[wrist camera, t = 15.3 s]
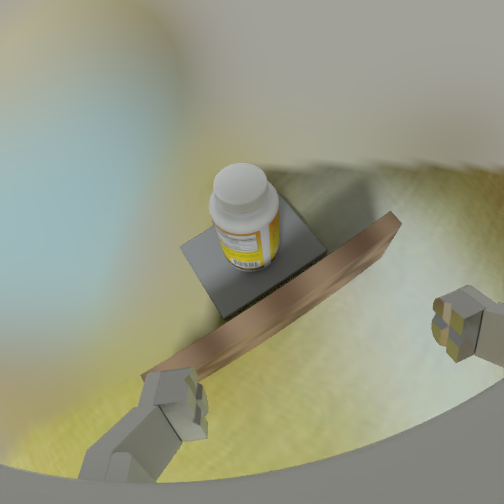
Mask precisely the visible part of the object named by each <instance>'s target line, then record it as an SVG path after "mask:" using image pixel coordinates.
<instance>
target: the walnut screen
mask: <svg viewBox="0 0 504 504" xmlns="http://www.w3.org/2000/svg"><path fill="white" fill-rule="evenodd" d="M401 225H402V223H401V222H400V221H399V220H398V218H397V217H396V216H395V215H394V214H393V213H392V212H391V211H390V212H388V213H387V214H386V215H384V216H383V217H381V218H380V219H379V220H377V221H376V222H375V223H373V224H372V225H370V226H369V227H368V228H366V229H365V230H363V231H362V232H361V233H359V234H358V235H356V236H355V237H354V238H352V239H351V240H349V241H348V242H347V243H345V244H344V245H342V246H341V247H339V248H338V249H337V250H335V251H334V252H332V253H331V254H329V255H328V256H326V257H325V258H324V259H322V260H321V261H319V262H318V263H316V264H315V265H313V266H312V267H310V268H309V269H308V270H306V271H305V272H303V273H302V274H300V275H299V276H297V277H296V278H294V279H293V280H291V281H290V282H288V283H287V284H285V285H284V286H282V287H281V288H279V289H278V290H276V291H275V292H273V293H272V294H270V295H269V296H267V297H266V298H264V299H263V300H261V301H259V302H258V303H256V304H255V305H253V306H252V307H250V308H249V309H247V310H246V311H244V312H242V313H241V314H239V315H238V316H236V317H235V318H233V319H232V320H230V321H228V322H227V323H225V324H224V325H222V326H220V327H219V328H217V329H216V330H214V331H212V332H211V333H209V334H208V335H206V336H204V337H203V338H201V339H200V340H198V341H196V342H195V343H193V344H191V345H190V346H188V347H187V348H185V349H183V350H182V351H180V352H178V353H177V354H175V355H173V356H172V357H170V358H168V359H167V360H165V361H163V362H162V363H160V364H158V365H157V366H155V367H153V368H152V369H150V370H148V371H147V372H145V373H143V374H141V377H142V379H143V381H144V382H145V379H146V375H147V374H148V373H150V372H157V371H163V370H171V369H178V368H184V367H191V366H192V367H194V368H195V370H196V372H197V374H198V382H199V381H201V380H203V379H204V378H206V377H208V376H209V375H211V374H213V373H214V372H216V371H218V370H219V369H221V368H222V367H224V366H226V365H227V364H229V363H231V362H232V361H234V360H235V359H237V358H239V357H240V356H242V355H243V354H245V353H246V352H248V351H250V350H251V349H253V348H254V347H256V346H257V345H259V344H260V343H262V342H264V341H265V340H267V339H268V338H270V337H271V336H273V335H274V334H276V333H277V332H279V331H280V330H282V329H283V328H285V327H286V326H288V325H289V324H291V323H292V322H293V321H295V320H296V319H298V318H299V317H301V316H302V315H304V314H305V313H307V312H308V311H309V310H311V309H312V308H314V307H315V306H316V305H318V304H319V303H321V302H322V301H323V300H325V299H326V298H328V297H329V296H330V295H332V294H333V293H335V292H336V291H337V290H339V289H340V288H341V287H343V286H344V285H345V284H347V283H348V282H349V281H351V280H352V279H353V278H355V277H356V276H357V275H359V274H360V273H361V272H363V271H364V270H365V269H367V268H368V267H369V266H371V265H372V264H373V263H374V262H376V261H377V260H378V259H380V258H381V257H382V255H383V254H384V252H385V250H386V249H387V247H388V246H389V244H390V243H391V241H392V239H393V238H394V236H395V235H396V233H397V231H398V230H399V228H400V226H401Z"/></svg>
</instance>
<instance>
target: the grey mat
mask: <svg viewBox="0 0 504 504" xmlns="http://www.w3.org/2000/svg"><path fill="white" fill-rule="evenodd" d="M277 194H278V198H279V226H280V249H279V252H278V255H277V257H276V259H275V260H274V261H273V262H272V263H271V264H270V265H269V266H267V267H266V268H264V269H262V270H258V271H250V272H249V271H243V270H240V269H237V268H236V267H234V266H233V265H232V264H230V263H229V261H228V260H227V258H226V257H225V254H224V252H223V249H222V246H221V243H220V240H219V238H218V235H217V232H216V229H215V227H214V226H213V227H211V228H209V229H208V230H206V231H204V232H203V233H201V234H199V235H198V236H196V237H195V238H193V239H191V240H190V241H188V242H187V243H185V244H183V245H182V246H180V248H181V250H182V252H183V253H184V255H185V257H186V258H187V260H188V262H189V264H190V265H191V267H192V269H193V270H194V272H195V274H196V275H197V277H198V278H199V280H200V282H201V283H202V285H203V287H204V288H205V289H206V292H207V293H208V295H209V296H210V298H211V300H212V301H213V303H214V304H215V306H216V308H217V309H218V311H219V312H220V314H221V316H222V317H223V319H224V320H226V319H227V318H229V317H231V316H232V315H234V314H235V313H237V312H238V311H240V310H242V309H243V308H245V307H246V306H248V305H249V304H251V303H252V302H254V301H256V300H257V299H259V298H260V297H262V296H263V295H265V294H266V293H268V292H269V291H271V290H272V289H274V288H275V287H277V286H278V285H280V284H281V283H283V282H284V281H286V280H287V279H289V278H290V277H292V276H293V275H295V274H296V273H298V272H299V271H301V270H302V269H304V268H305V267H307V266H308V265H310V264H311V263H313V262H314V261H316V260H317V259H319V258H320V257H321V256H323V255H324V254H326V252H327V250H326V248H325V247H324V246H323V245H322V243H321V242H320V241H319V240H318V239H317V238H316V236H315V235H314V234H313V233H312V232H311V230H310V229H309V228H308V227H307V226H306V225H305V223H304V222H303V221H302V220H301V219H300V217H299V216H298V215H297V214H296V213H295V212H294V211H293V209H292V208H291V207H290V206H289V205H288V204H287V202H286V201H285V200H284V199H283V198H282V197H281V196H280V195H279V193H278V192H277Z"/></svg>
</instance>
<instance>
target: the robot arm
mask: <svg viewBox="0 0 504 504" xmlns="http://www.w3.org/2000/svg"><path fill="white" fill-rule="evenodd" d="M433 310H434V312H435V313H436V314H435V316H434V318H433V320H432V332H433V336H434V338H435V340H436V341H437V342H438V344H439V345H442V346H445V347H446V352H447V354H448V355H449V356H450V357H451V358H452V359H453V360H454V361H455V362H456V363H457V362H460V361H462V360H464V359H466V358H468V357H470V356H472V355H474V354H475V356H478V357H480V358H482V359H485V360H487V361H489V362H492V363H494V364H497V365H499V366H501V367H504V303H500V302H499V303H497V304H496V303H495V302H493V301H492V300H491V299H489V298H488V297H487V296H485V295H484V294H482V293H481V292H480V291H478V290H477V289H475V288H474V287H473V286H471V285H466V286H464V287H462V288H459V289H457V290H456V291H453V292H451V293H449V294H446V295H444V296H441V297H439V298H436V299H435V300H434V303H433ZM207 413H208V400H207V395H206V392H205V390H204V387H203V385H201V384H199V383H198V374H197V372H196V370H195V368H194V367H192V366H191V367H184V368H178V369H171V370H163V371H157V372H150V373H148V374H147V375H146V379H145V382H144V386H143V389H142V393H141V396H140V400H139V404H138V407H135V408H133V409H132V410H130V411H129V412H128V413H127V414H126V415H125V416H124V417H123V418H122V419H121V420H120V421H119V422H118V423H116V424H115V425H114V426H113V427H112V428H111V429H110V430H109V431H108V432H107V433H106V434H104V435H103V436H102V437H101V438H100V439H99V440H98V441H97V442H96V443H95V444H93V445H92V446H91V447H90V448H89V449H88V450H87V452H86V455H85V458H84V461H83V464H82V467H81V470H80V473H79V476H78V479H73V478H66V477H59V476H53V475H47V474H41V473H36V472H31V471H26V470H22V469H17V468H13V467H10V466H6V465H3V464H0V504H504V378H503V379H501V380H500V381H498V382H497V383H495V384H494V385H492V386H490V387H489V388H487V389H485V390H484V391H482V392H481V393H479V394H477V395H475V396H474V397H472V398H470V399H468V400H467V401H465V402H463V403H461V404H459V405H458V406H456V407H454V408H452V409H450V410H448V411H446V412H444V413H442V414H440V415H438V416H436V417H434V418H432V419H430V420H428V421H426V422H423V423H421V424H419V425H417V426H415V427H412V428H410V429H408V430H405V431H403V432H401V433H398V434H396V435H393V436H391V437H388V438H386V439H383V440H380V441H378V442H375V443H372V444H369V445H366V446H364V447H361V448H358V449H355V450H352V451H349V452H345V453H342V454H339V455H336V456H332V457H329V458H325V459H322V460H318V461H314V462H310V463H306V464H302V465H298V466H294V467H289V468H285V469H280V470H275V471H270V472H264V473H259V474H253V475H246V476H240V477H233V478H225V479H216V480H206V481H193V482H176V483H157V482H156V480H157V479H158V477H159V476H160V475H161V473H162V472H163V470H164V469H165V468H166V466H167V465H168V463H169V462H170V460H171V459H172V458H173V456H174V455H175V453H176V452H177V450H178V449H179V447H180V446H181V445H182V442H186V441H194V440H201V439H207V438H208V422H207V420H206V418H205V416H206V415H207Z"/></svg>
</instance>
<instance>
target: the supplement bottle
mask: <svg viewBox="0 0 504 504" xmlns="http://www.w3.org/2000/svg"><path fill="white" fill-rule="evenodd" d="M213 189H214V190H213V192H212V194H211V196H210V200H209V212H210V216H211V218H212V221H213V224H214V227H215V229H216V232H217V235H218V238H219V240H220V243H221V246H222V249H223V252H224V254H225V257H226V258H227V260H228V261H229V263H230V264H232V265H233V266H234V267H236V268H237V269H240V270H243V271H249V272H250V271H258V270H262V269H264V268H266V267H267V266H269V265H270V264H271V263H272V262H273V261H274V260H275V259H276V257H277V255H278V252H279V249H280V226H279V198H278V194H277V191H276V189H275V188H274V186H273V185H272V184H271V183H270V182H269V181H267V177H266V175H265V173H264V172H263V170H262V169H261V168H259V167H258V166H256V165H254V164H250V163H234V164H231V165H229V166H226V167H225V168H223V169H222V170H221V171H219V173H218V174H217V175H216V177H215V179H214V182H213Z"/></svg>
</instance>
